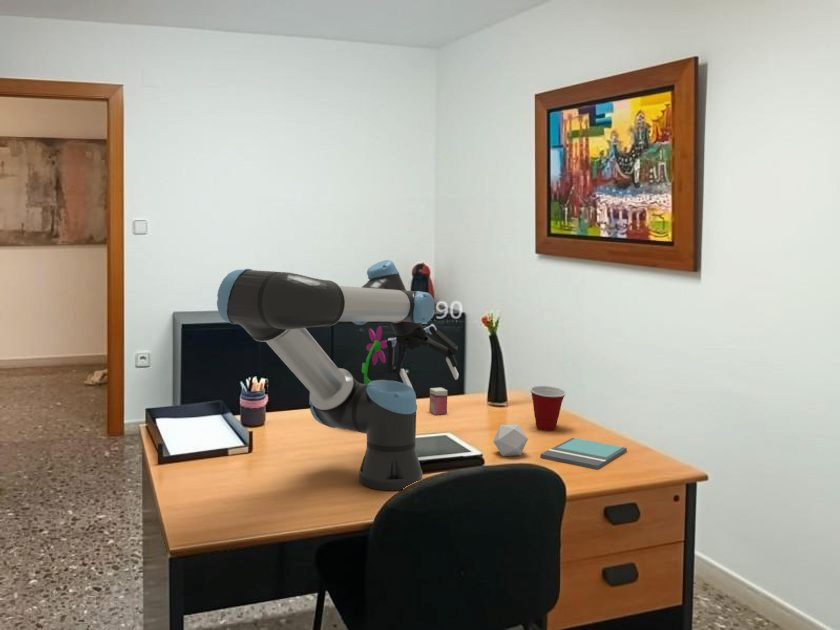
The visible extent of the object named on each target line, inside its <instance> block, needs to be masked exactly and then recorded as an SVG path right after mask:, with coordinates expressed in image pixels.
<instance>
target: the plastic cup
mask: <svg viewBox="0 0 840 630" xmlns="http://www.w3.org/2000/svg"><path fill="white" fill-rule="evenodd" d="M529 391H530V393H531V400H532V404H533V405H532V406H533V407H532V408H533V414H534V420H535V426H536V429H537V430H539V431H545V432H547V431H548V432H549V431H550V432H551V431H555V430H556V428H557V426H558V420H559V417H560V412H561V407H562V404H563V403H562V402H563V400H564V398H565V396H566V395H567V392H566V390H564V389H562V388H559V387H556V386H548V385H535V386H532V387H530V388H529Z"/></svg>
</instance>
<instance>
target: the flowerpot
mask: <svg viewBox="0 0 840 630" xmlns="http://www.w3.org/2000/svg"><path fill="white" fill-rule="evenodd" d="M382 334H383V329H382V326H380V325H379V326H378V327H377V329H376V332H375V331H374V330H373V329H372V328H369V329H368V336H369V338H370V340H371V342H373V343H367V345H366V346H365V348H366V351H368V355H367V356H366V359H365V362H362V363H361V373H362V375H363V384H367V385H368V384H369V383H370V382H371V381H372V380H370V379H369V377H368V369H369V364H370V359H371V360H372V365H373V366H376V364H377V363H378V361H379V360H380V362H381V363H382V364H386V362H387V361H386V360H387V359H386V355H385V353H384V351H383V350H382V349H388V346H387V341H388V340H386V339H384V340H381V339H382V336H383V335H382ZM371 357H372V358H371Z"/></svg>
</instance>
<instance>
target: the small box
mask: <svg viewBox="0 0 840 630" xmlns="http://www.w3.org/2000/svg"><path fill="white" fill-rule="evenodd" d="M428 410H429V411H428V412H429V413H431V414H433V415H434V416H441V415H442V416H443V415H447V413H448V389H445V388H444V387H431V388H429V409H428Z"/></svg>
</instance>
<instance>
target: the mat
mask: <svg viewBox="0 0 840 630" xmlns="http://www.w3.org/2000/svg"><path fill="white" fill-rule="evenodd" d="M627 451H628V448H627V447H624V446H619V445H615V444H608V443H603V442H597V441H592V440H588V439H582V438H577V437H572V438H570V439H567V440H565V441H564V442H561V443H559V444H558V445H556V446H553V447H552V448H549V449H547V450H546V451H544V452H542V453H540V454H539V455H540V457H539V458H540V459H545V460H550V461H553V462H554V461H555V462H557V463H558V462H559V463H565V464H568V465H575V466H579V467H583V468H588V469H593V470H599V469H601V468H602V467H604V466H605V465H607V464H609V463H611V462H612V461H614V460H615V459H617V458H618V457H621V456H622V455H623V454H625V453H626V452H627Z"/></svg>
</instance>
